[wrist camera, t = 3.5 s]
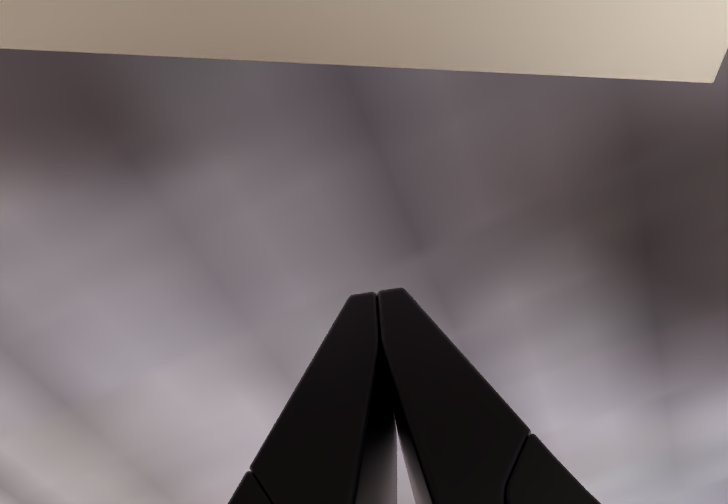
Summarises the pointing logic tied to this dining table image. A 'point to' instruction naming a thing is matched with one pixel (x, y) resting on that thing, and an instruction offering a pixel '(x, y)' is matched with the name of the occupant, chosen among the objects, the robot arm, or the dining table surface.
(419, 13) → the ash block
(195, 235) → the dining table surface
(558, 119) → the dining table surface
